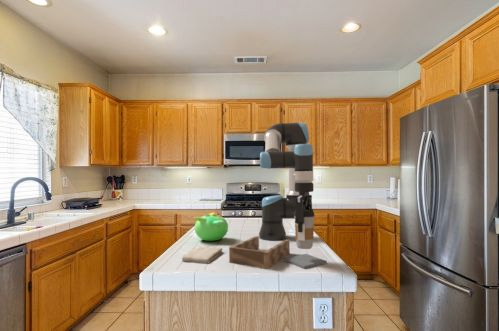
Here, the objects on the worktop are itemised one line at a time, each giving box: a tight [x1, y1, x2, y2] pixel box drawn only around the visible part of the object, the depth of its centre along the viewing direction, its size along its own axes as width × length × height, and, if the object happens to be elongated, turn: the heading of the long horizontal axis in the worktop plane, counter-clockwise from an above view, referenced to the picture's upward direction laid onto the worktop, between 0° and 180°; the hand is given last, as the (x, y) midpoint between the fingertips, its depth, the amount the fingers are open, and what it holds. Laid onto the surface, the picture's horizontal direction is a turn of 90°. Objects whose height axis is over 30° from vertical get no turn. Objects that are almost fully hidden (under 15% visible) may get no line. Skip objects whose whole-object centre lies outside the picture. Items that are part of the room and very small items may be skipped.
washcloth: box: [181, 246, 223, 264], centre depth 123 cm, size 12×18×3 cm, turn 166°
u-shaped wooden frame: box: [228, 235, 291, 270], centre depth 121 cm, size 24×17×6 cm
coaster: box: [283, 253, 328, 269], centre depth 114 cm, size 12×12×1 cm
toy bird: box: [193, 212, 229, 242], centre depth 153 cm, size 18×17×15 cm
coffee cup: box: [294, 209, 315, 250], centre depth 115 cm, size 8×8×15 cm
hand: (304, 237), depth 115 cm, fingers closed on coffee cup, 8 cm apart
